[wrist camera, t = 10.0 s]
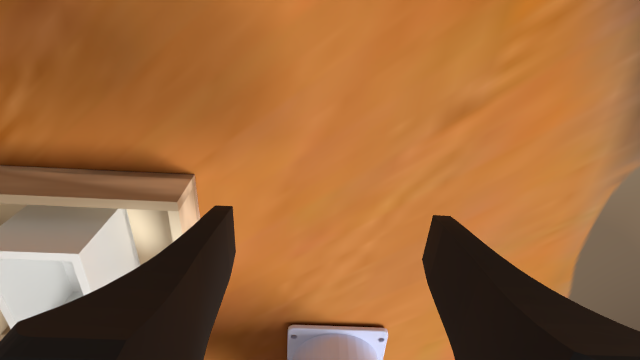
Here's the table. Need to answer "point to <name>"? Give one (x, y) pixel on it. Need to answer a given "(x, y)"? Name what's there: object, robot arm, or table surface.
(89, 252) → the small crate
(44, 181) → the shallow wooden tray
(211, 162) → the table surface
